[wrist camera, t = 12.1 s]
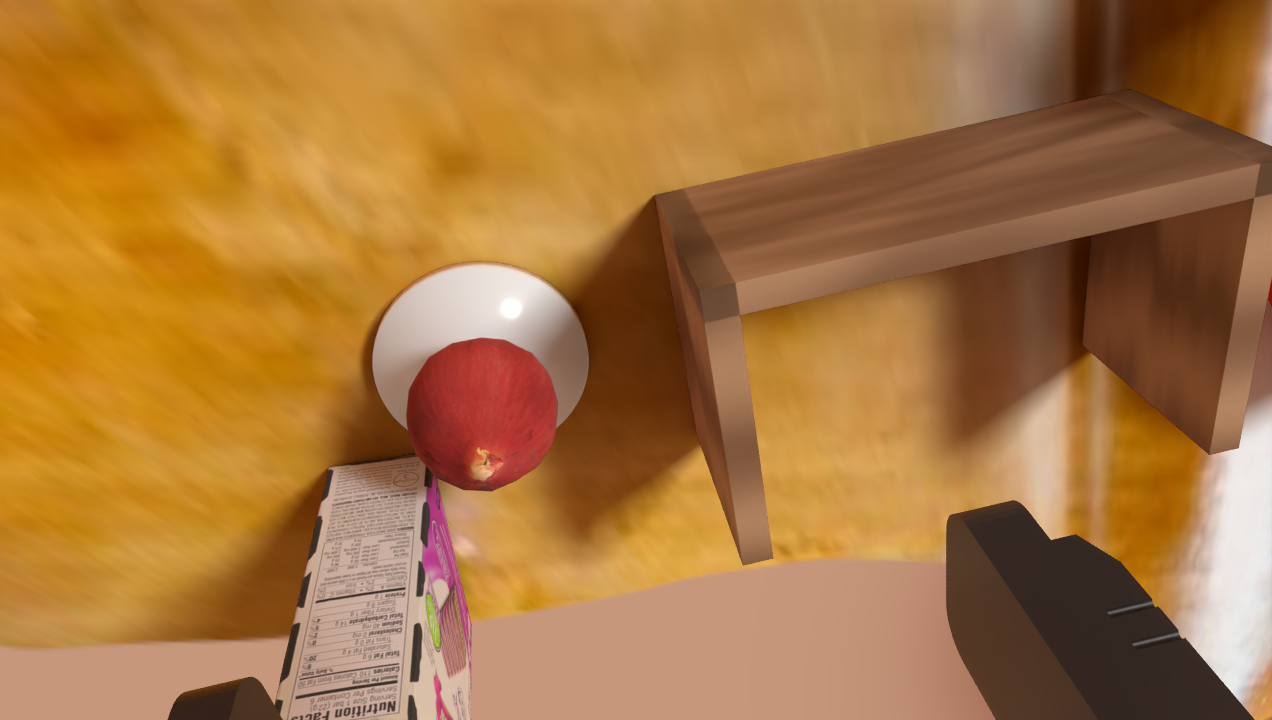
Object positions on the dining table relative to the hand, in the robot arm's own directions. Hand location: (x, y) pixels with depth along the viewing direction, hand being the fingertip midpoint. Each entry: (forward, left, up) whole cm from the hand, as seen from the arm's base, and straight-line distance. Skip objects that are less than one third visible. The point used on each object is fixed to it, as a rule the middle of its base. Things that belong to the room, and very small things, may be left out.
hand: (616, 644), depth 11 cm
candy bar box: (+20, -11, -28) cm, 36 cm away
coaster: (+11, -5, -28) cm, 30 cm away
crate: (+11, +14, -28) cm, 33 cm away
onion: (+11, -4, -27) cm, 29 cm away
